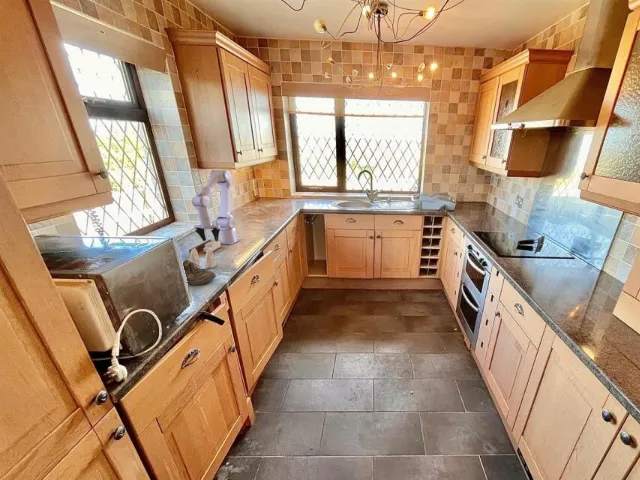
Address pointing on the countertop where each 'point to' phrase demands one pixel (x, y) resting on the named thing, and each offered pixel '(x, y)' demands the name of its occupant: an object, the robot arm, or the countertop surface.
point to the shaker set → (209, 258)
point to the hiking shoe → (197, 273)
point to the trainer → (212, 246)
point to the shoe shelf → (201, 246)
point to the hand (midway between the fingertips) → (210, 240)
